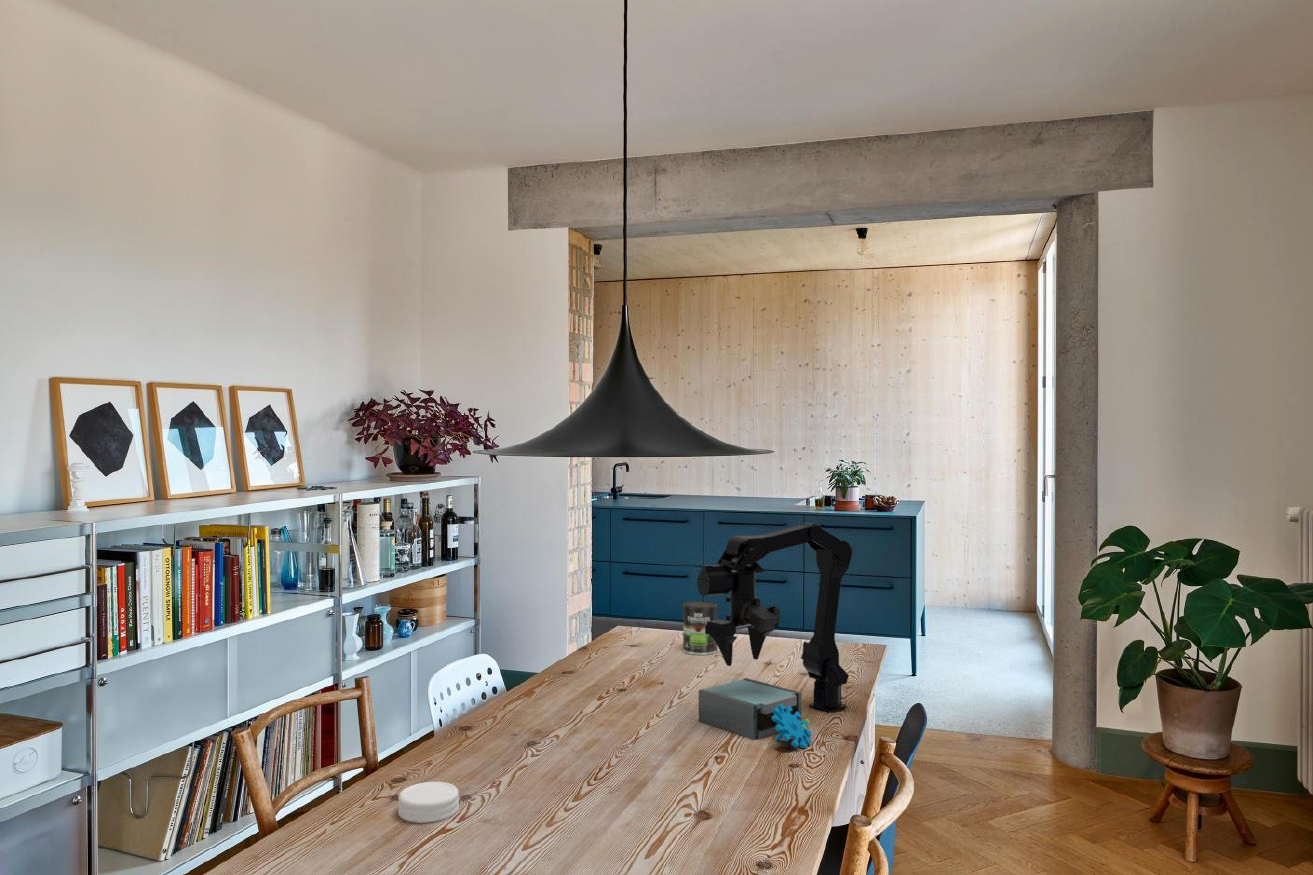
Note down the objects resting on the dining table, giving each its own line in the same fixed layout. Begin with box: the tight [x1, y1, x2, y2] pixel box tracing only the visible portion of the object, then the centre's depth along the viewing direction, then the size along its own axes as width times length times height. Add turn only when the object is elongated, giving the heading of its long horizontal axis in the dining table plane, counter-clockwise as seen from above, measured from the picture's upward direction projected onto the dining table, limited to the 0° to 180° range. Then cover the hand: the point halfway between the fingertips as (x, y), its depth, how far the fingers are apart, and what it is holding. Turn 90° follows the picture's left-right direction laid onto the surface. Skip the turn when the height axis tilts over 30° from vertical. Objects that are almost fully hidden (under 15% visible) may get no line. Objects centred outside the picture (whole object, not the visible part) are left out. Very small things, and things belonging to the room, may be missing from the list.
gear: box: [771, 704, 812, 749], centre depth 190 cm, size 11×6×10 cm
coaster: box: [397, 781, 460, 824], centre depth 155 cm, size 10×10×4 cm
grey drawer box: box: [698, 677, 802, 741], centre depth 203 cm, size 16×17×7 cm
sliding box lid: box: [703, 678, 797, 715], centre depth 203 cm, size 13×18×2 cm
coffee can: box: [682, 600, 719, 656], centre depth 271 cm, size 10×10×14 cm
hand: (742, 662), depth 205 cm, fingers open, 8 cm apart
